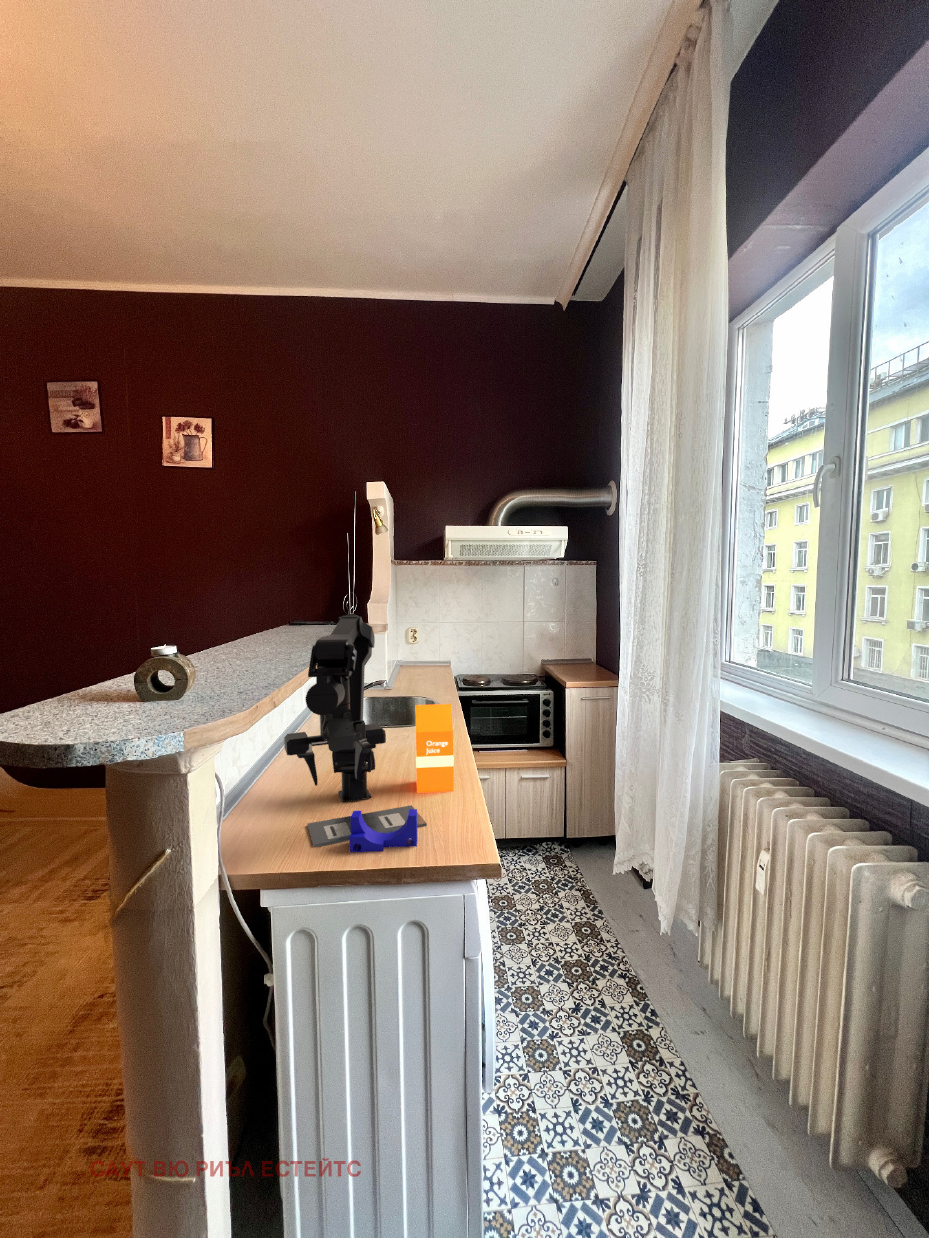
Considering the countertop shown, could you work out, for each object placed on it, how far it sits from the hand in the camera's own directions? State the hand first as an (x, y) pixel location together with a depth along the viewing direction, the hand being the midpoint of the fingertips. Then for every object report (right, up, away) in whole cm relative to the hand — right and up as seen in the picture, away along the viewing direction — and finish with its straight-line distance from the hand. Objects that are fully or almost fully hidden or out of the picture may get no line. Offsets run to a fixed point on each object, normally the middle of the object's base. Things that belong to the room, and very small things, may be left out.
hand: (336, 781), depth 104 cm
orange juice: (+18, -9, +24) cm, 32 cm away
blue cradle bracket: (+10, -11, -6) cm, 16 cm away
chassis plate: (+5, -10, +3) cm, 11 cm away
